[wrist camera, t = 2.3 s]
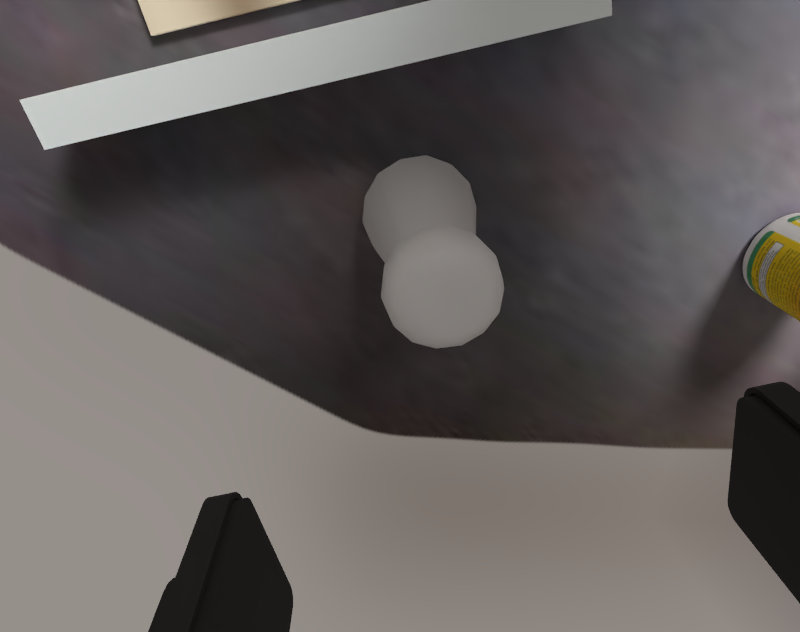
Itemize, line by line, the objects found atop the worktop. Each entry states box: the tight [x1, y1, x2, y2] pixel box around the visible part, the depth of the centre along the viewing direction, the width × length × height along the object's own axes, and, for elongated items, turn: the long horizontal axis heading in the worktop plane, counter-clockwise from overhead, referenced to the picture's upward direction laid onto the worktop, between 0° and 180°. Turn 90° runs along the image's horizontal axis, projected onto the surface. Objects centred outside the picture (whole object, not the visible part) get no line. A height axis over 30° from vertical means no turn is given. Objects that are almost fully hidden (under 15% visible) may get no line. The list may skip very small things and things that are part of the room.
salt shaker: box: [362, 155, 504, 349], centre depth 23 cm, size 6×6×13 cm
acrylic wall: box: [20, 0, 612, 150], centre depth 23 cm, size 24×2×5 cm, turn 102°
